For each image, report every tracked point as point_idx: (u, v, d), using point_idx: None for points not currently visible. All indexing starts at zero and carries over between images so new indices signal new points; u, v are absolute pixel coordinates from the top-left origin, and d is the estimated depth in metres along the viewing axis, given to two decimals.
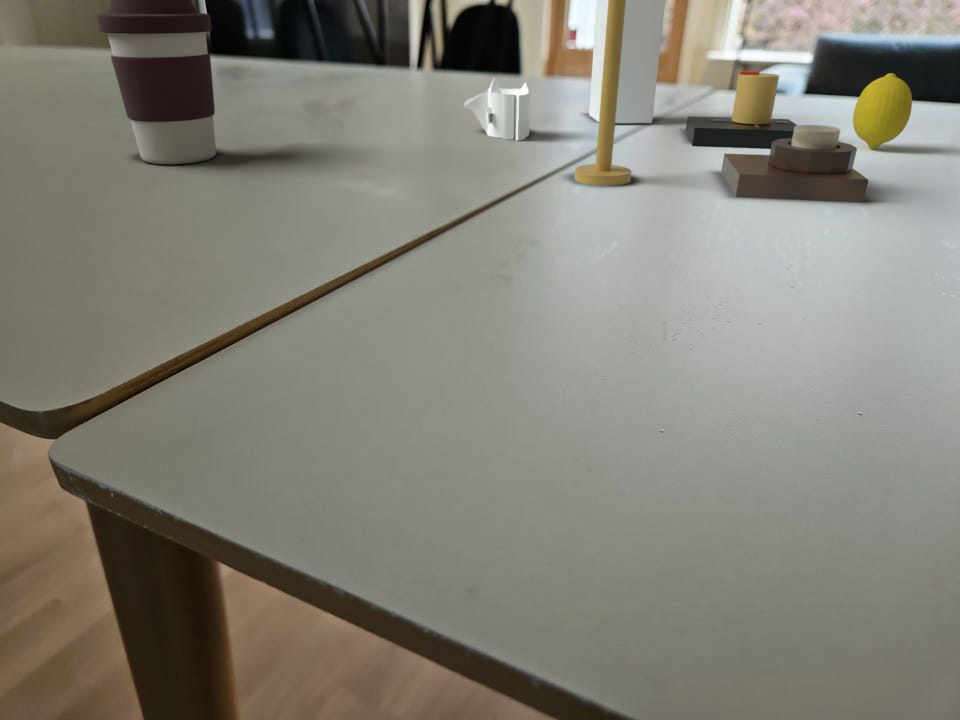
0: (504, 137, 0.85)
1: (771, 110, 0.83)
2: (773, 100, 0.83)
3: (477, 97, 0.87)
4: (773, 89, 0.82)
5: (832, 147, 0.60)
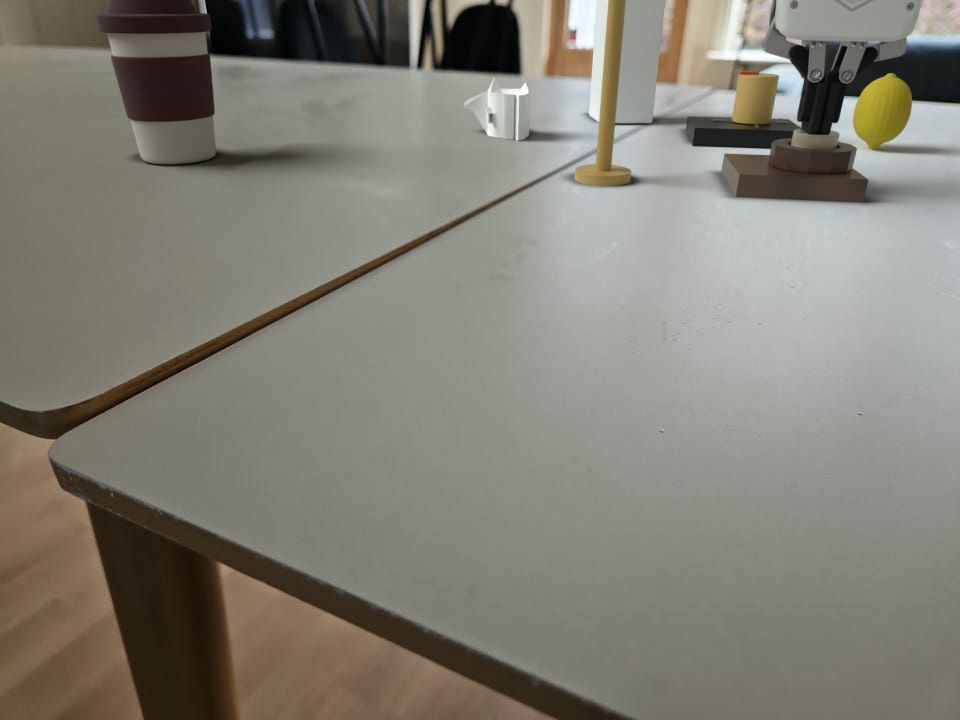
0: (504, 137, 0.85)
1: (771, 110, 0.83)
2: (773, 100, 0.83)
3: (477, 97, 0.87)
4: (773, 89, 0.82)
5: None
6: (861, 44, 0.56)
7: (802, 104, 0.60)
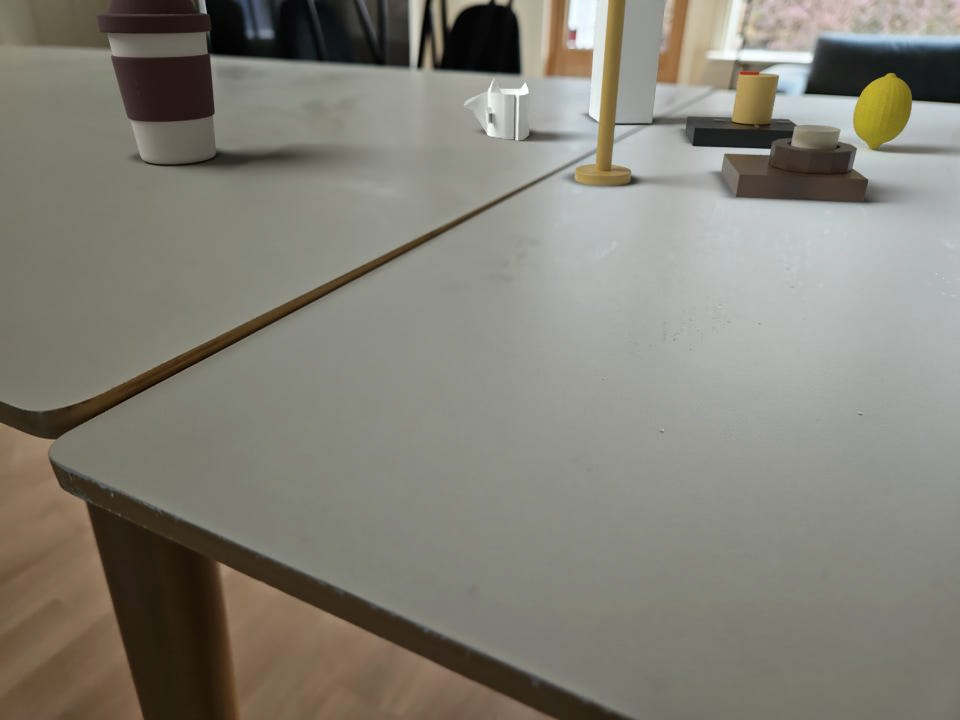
0: (504, 137, 0.85)
1: (771, 110, 0.83)
2: (773, 100, 0.83)
3: (477, 97, 0.87)
4: (773, 89, 0.82)
5: (832, 147, 0.60)
6: None
7: None
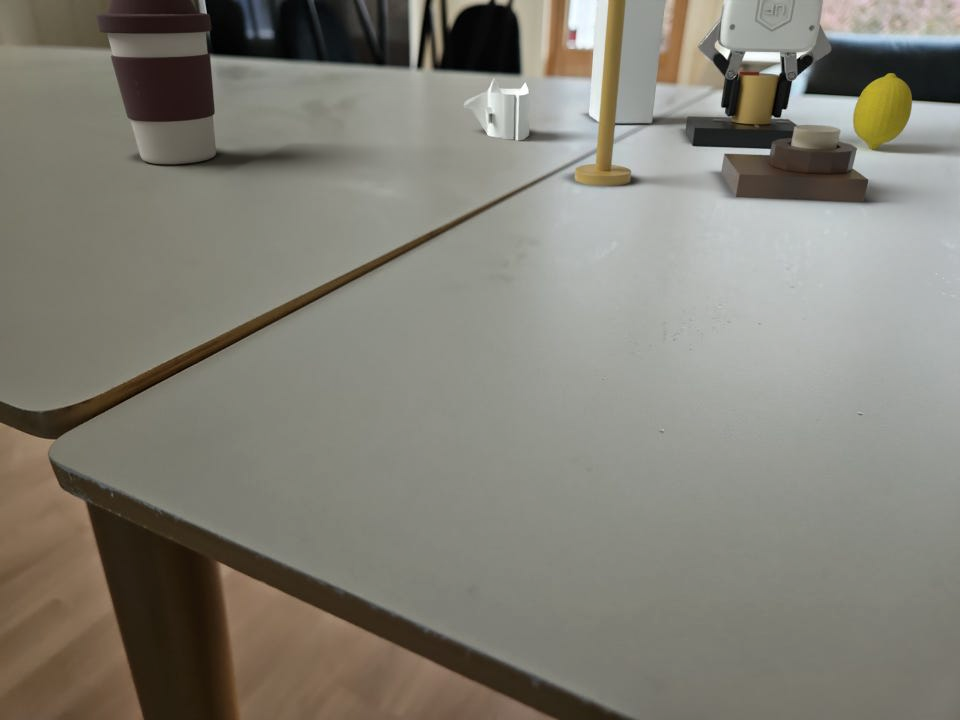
0: (504, 137, 0.85)
1: (771, 110, 0.83)
2: (773, 100, 0.83)
3: (477, 97, 0.87)
4: (773, 89, 0.82)
5: (832, 147, 0.60)
6: (792, 53, 0.80)
7: (723, 95, 0.84)
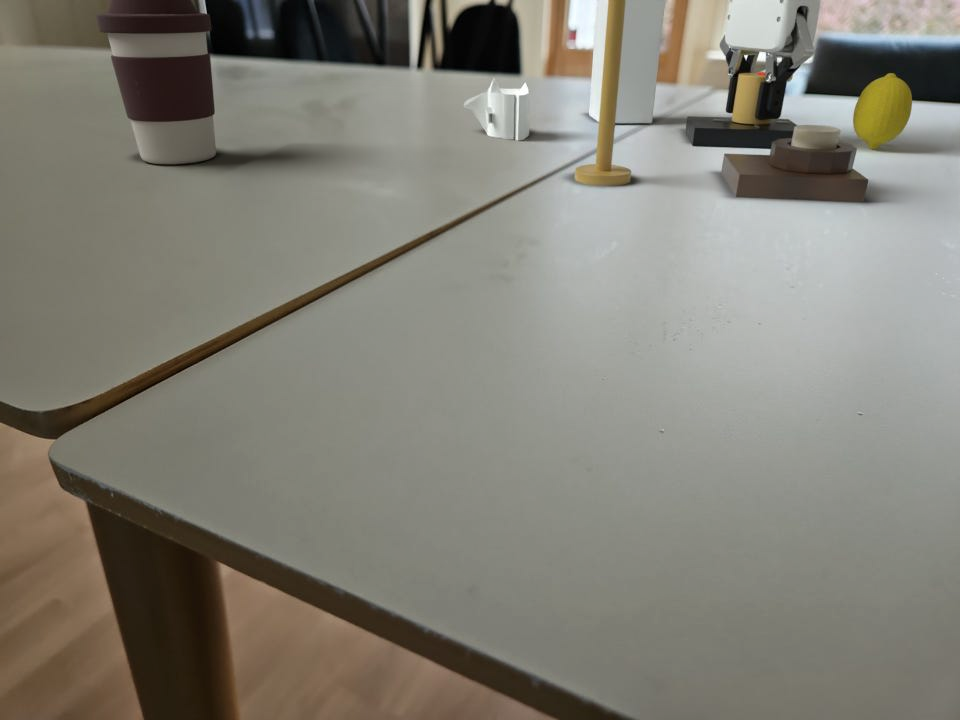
0: (504, 137, 0.85)
1: None
2: None
3: (477, 97, 0.87)
4: None
5: (832, 147, 0.60)
6: None
7: (778, 99, 0.81)
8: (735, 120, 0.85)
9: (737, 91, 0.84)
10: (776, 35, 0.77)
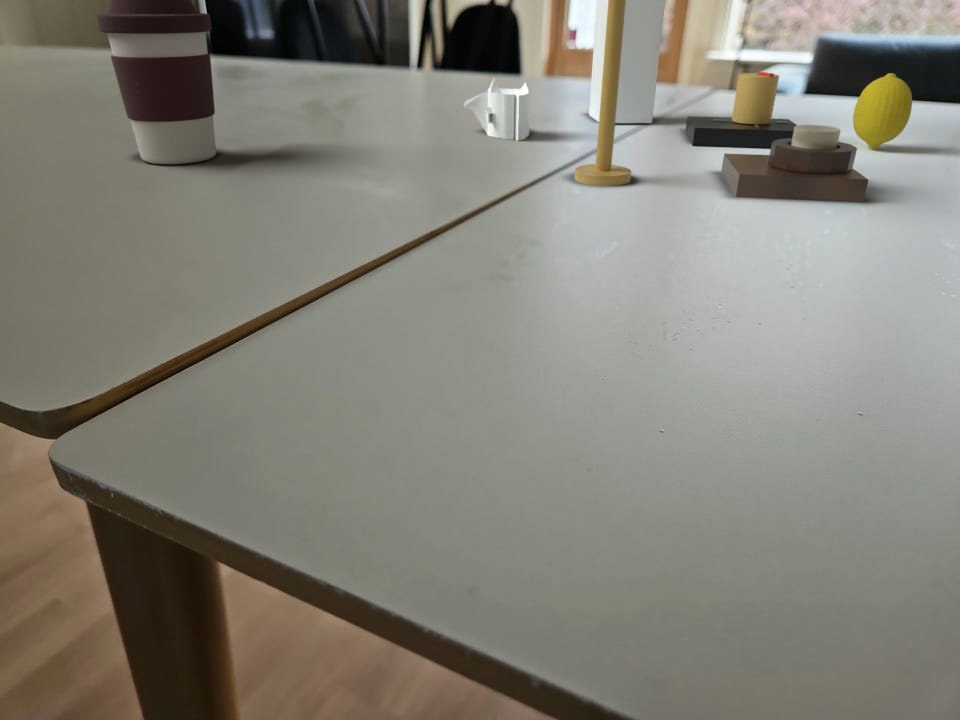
0: (504, 137, 0.85)
1: None
2: None
3: (477, 97, 0.87)
4: None
5: (832, 147, 0.60)
6: None
7: None
8: (735, 120, 0.85)
9: (737, 91, 0.84)
10: None
